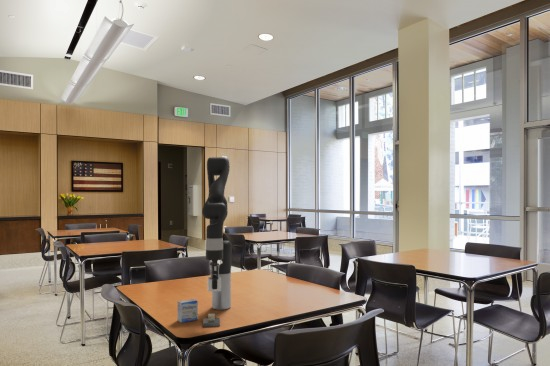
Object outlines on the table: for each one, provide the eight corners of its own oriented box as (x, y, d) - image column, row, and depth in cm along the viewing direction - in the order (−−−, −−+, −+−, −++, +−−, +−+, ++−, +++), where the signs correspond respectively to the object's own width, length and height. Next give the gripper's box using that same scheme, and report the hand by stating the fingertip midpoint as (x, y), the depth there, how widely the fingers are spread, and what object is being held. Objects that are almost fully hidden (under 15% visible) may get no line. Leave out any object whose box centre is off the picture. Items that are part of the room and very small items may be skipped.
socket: (207, 288, 171) (207, 277, 172) (220, 288, 173) (220, 276, 173) (207, 291, 166) (208, 279, 166) (221, 290, 167) (221, 279, 167)
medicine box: (181, 323, 170) (181, 303, 170) (177, 320, 173) (177, 301, 174) (197, 320, 174) (197, 300, 175) (193, 317, 178) (193, 298, 178)
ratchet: (203, 316, 179) (203, 307, 179) (219, 315, 180) (219, 307, 180) (203, 327, 164) (203, 317, 164) (219, 326, 165) (219, 316, 166)
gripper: (224, 250, 164) (224, 290, 163) (221, 246, 178) (221, 283, 177) (206, 250, 162) (206, 291, 161) (205, 247, 176) (204, 284, 175)
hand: (214, 287), depth 169 cm, fingers closed on socket, 5 cm apart
